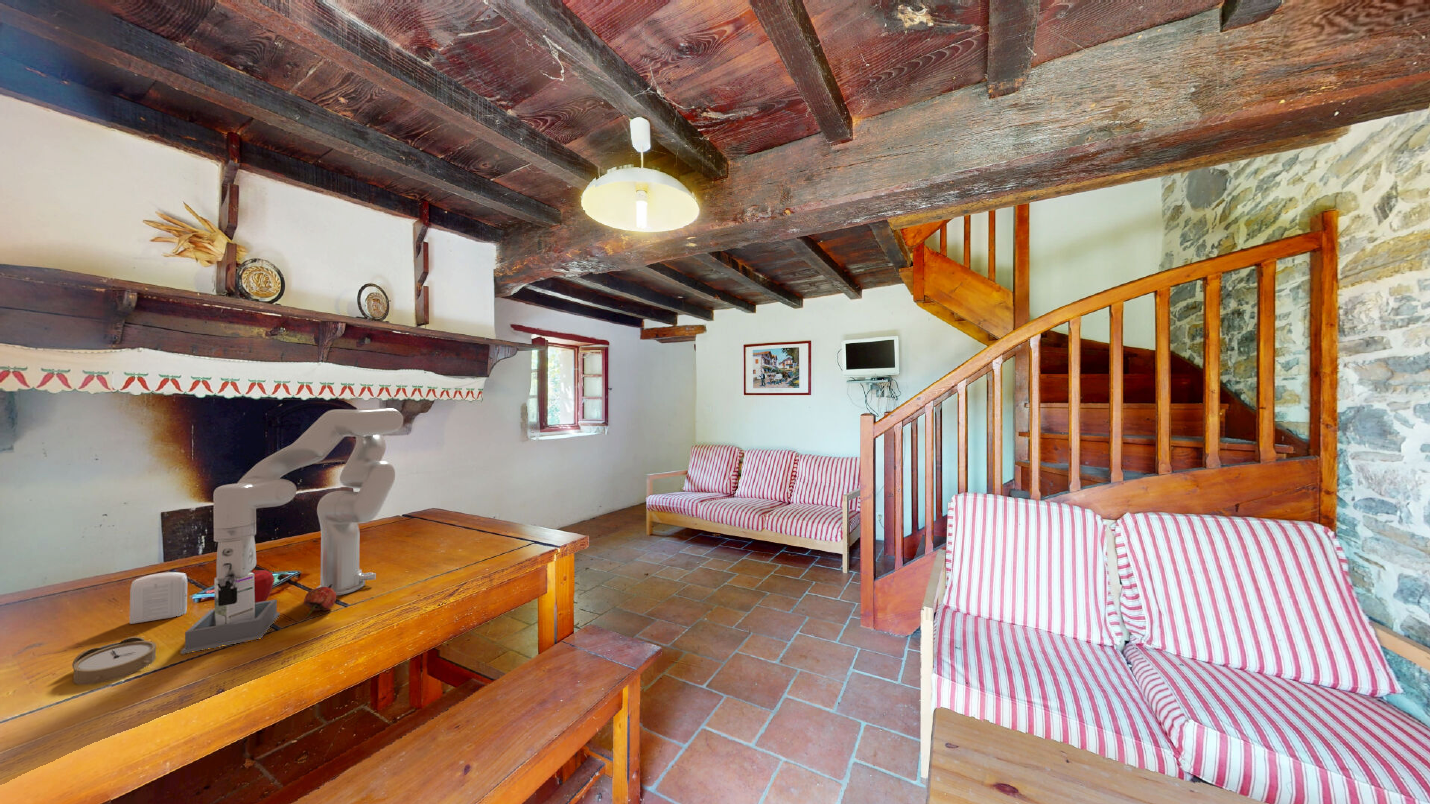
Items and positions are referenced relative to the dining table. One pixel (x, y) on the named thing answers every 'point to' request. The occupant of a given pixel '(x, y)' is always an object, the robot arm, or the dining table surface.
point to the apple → (262, 584)
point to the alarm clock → (113, 661)
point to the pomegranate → (320, 599)
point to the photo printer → (158, 597)
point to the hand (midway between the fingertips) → (235, 596)
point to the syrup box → (242, 607)
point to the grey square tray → (230, 629)
